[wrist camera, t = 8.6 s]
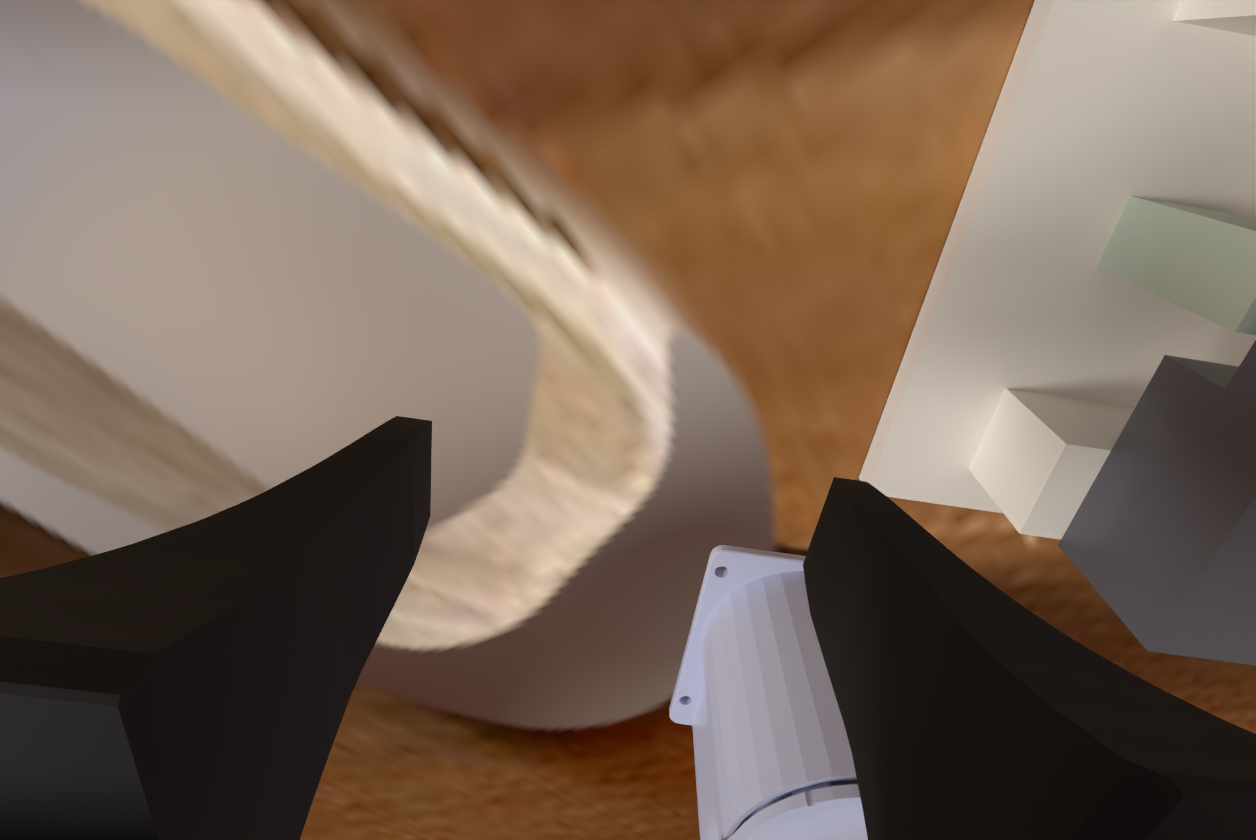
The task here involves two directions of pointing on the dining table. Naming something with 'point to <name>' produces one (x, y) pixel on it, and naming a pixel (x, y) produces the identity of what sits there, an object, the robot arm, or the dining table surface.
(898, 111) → the dining table surface
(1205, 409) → the grey c-shaped bracket
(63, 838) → the robot arm
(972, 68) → the dining table surface
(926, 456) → the stand
